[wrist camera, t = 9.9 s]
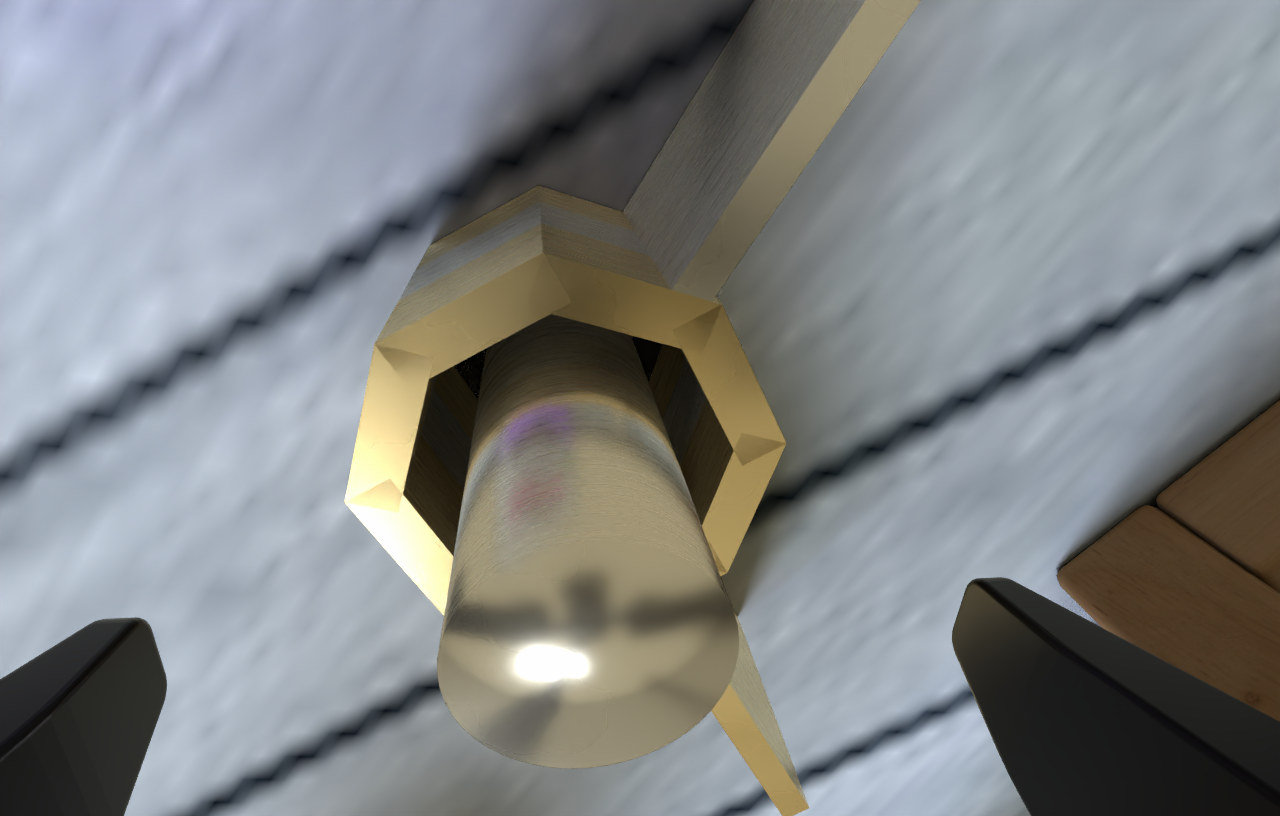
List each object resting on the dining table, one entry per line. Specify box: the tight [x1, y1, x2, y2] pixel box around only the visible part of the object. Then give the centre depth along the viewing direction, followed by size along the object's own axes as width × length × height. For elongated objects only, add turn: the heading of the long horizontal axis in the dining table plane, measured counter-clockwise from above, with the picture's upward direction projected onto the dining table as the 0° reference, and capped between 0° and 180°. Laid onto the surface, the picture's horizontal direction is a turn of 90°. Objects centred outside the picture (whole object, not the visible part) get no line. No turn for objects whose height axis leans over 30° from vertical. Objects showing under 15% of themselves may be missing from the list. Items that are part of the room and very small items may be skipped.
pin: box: [437, 314, 739, 768], centre depth 12 cm, size 3×3×10 cm
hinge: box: [344, 0, 921, 816], centre depth 15 cm, size 16×12×6 cm
